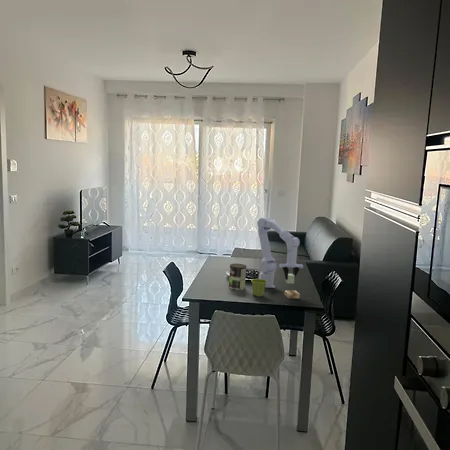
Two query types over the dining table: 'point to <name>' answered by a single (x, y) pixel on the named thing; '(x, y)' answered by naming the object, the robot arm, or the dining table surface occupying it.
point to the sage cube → (290, 278)
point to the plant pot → (258, 286)
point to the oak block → (292, 294)
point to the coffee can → (237, 276)
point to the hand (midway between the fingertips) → (290, 279)
